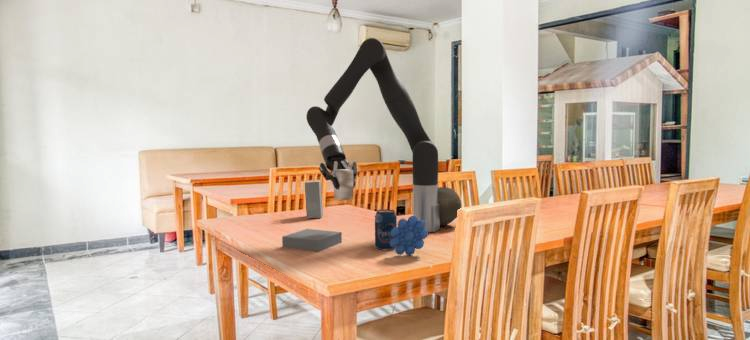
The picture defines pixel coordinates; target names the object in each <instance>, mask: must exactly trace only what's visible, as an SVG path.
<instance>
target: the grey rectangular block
mask: <svg viewBox="0 0 750 340" xmlns="http://www.w3.org/2000/svg"><path fill="white" fill-rule="evenodd" d="M322 189H323V188H322V180H311V181H309V180H308V181H305V182H304V193H305V194H304V196H305V210H306V212H305V213H306V219H321V218H322V217H323V216H324V207H323V191H322Z"/></svg>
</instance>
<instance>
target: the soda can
mask: <svg viewBox="0 0 750 340" xmlns="http://www.w3.org/2000/svg"><path fill="white" fill-rule="evenodd" d="M397 218H398V217H397V215H396V212H395V209H387V208H386V209H385V208H384V209H378V210H376V213H375V215H374V245H375V247H376V249H378V250H381V251H390V250H394V249H395V248H393V247H391V246H390V241H391V239H392V238H394V237H392V236H391V230H392V229H393V228H394V227H398V225H397V224H398V222H397Z"/></svg>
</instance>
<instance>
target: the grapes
mask: <svg viewBox="0 0 750 340" xmlns="http://www.w3.org/2000/svg"><path fill="white" fill-rule="evenodd" d="M425 225H426V224H425V221H424V220H419V221H417V217H416V216H413V215H411V216H409V217H408V219H406V218H401V219H399V220H398V222H397V227H394V228H393V229H392V230H391V236H392V237H394V238H392V239H391V241H390V246H391V247H393V248H394V249H395V254H396V255H403V254H404V253H405V255H407V256H412V255H413V254H414V253H415V251H416V250H421V249H422V248H423V247H424V245H425V241H424V240H425V239H426V238H428V235H429V232H428V231H427V230H426V229H423V228H424V227H425Z"/></svg>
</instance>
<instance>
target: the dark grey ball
mask: <svg viewBox="0 0 750 340" xmlns="http://www.w3.org/2000/svg"><path fill="white" fill-rule="evenodd" d="M438 204H439V205H440V227H441V226H446V225H449V224H450V223H452V222H453V221H454V220H456V219H457V218H458V216H457V210H458V209H460V208H461V209H462V200H461V198H460V196H459V194H458V193H457V192H456V191H455V190H454V189H453V188H450V187H444V186H443V187H442V186H440V187H439V186H438Z"/></svg>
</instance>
